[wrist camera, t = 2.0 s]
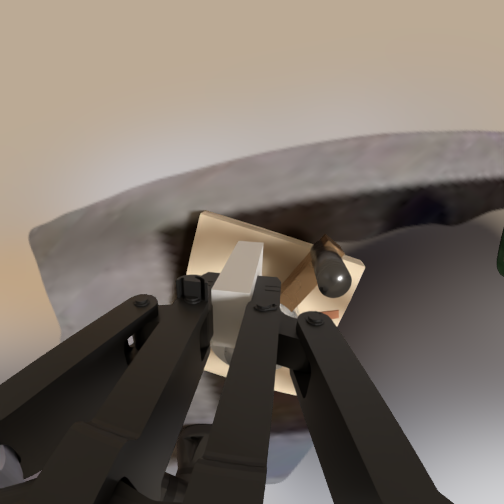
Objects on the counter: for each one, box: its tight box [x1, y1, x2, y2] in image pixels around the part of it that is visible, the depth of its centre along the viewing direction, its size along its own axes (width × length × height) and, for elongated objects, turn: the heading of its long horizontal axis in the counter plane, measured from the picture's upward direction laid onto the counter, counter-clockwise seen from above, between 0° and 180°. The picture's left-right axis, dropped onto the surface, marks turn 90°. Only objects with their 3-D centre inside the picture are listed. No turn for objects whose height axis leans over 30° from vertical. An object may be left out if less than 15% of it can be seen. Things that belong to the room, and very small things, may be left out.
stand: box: [186, 210, 365, 395], centre depth 32 cm, size 20×18×2 cm
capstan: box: [210, 234, 352, 370], centre depth 26 cm, size 18×10×8 cm, turn 143°
